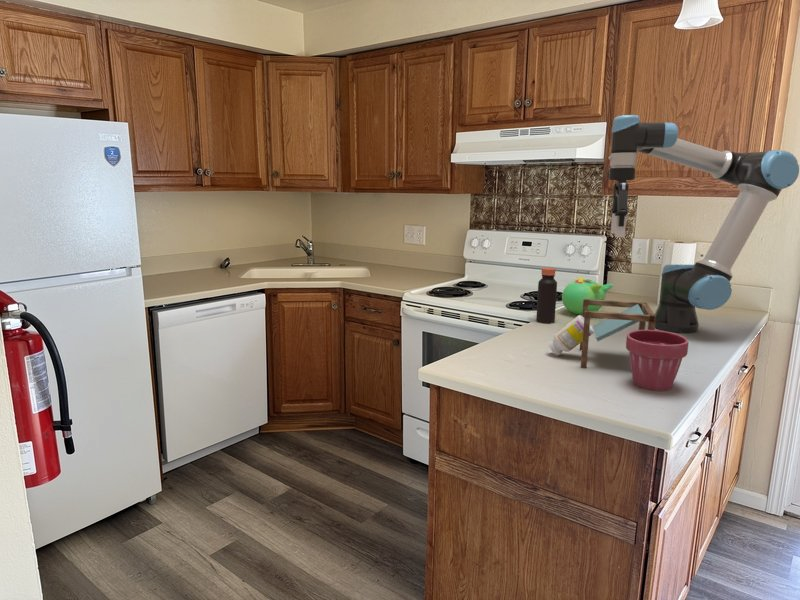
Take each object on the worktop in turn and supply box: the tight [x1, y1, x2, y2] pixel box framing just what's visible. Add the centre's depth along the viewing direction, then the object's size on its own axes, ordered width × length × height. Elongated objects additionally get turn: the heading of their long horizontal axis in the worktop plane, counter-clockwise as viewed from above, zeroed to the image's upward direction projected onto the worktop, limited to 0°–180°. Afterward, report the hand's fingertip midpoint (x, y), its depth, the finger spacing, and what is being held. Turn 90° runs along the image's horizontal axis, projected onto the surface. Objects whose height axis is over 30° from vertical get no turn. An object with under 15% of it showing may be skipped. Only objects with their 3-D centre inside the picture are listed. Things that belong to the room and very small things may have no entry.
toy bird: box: [561, 276, 614, 316], centre depth 217 cm, size 18×17×15 cm
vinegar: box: [535, 267, 558, 324], centre depth 204 cm, size 7×7×20 cm
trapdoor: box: [593, 304, 644, 342], centre depth 158 cm, size 14×15×1 cm
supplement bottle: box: [547, 314, 595, 356], centre depth 163 cm, size 7×7×13 cm
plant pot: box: [625, 329, 689, 392], centre depth 140 cm, size 14×14×13 cm
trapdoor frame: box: [579, 299, 656, 369], centre depth 159 cm, size 18×19×16 cm
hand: (617, 235), depth 177 cm, fingers open, 13 cm apart
